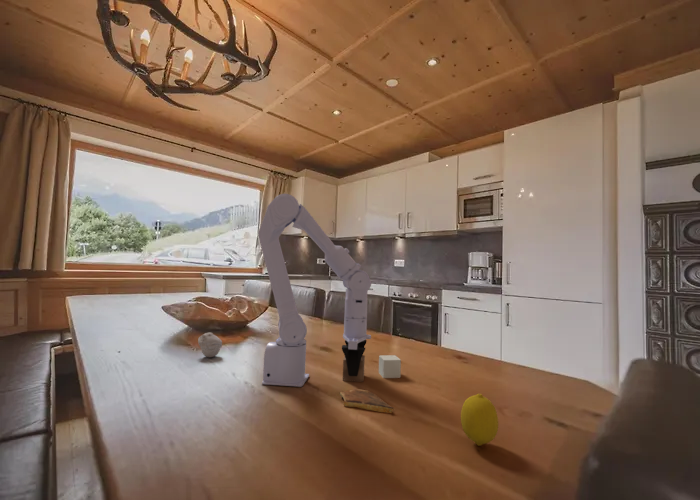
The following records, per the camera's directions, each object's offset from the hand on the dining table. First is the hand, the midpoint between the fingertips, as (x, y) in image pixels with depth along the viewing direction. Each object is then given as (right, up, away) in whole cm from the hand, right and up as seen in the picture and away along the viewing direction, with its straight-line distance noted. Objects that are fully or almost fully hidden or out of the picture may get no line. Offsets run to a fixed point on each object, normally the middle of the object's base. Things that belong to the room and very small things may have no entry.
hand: (353, 371), depth 81 cm
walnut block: (0, -1, 0) cm, 1 cm away
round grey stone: (-42, -1, +14) cm, 44 cm away
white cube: (+9, -2, +3) cm, 10 cm away
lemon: (+19, -1, -30) cm, 36 cm away
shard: (+3, -1, -14) cm, 15 cm away
